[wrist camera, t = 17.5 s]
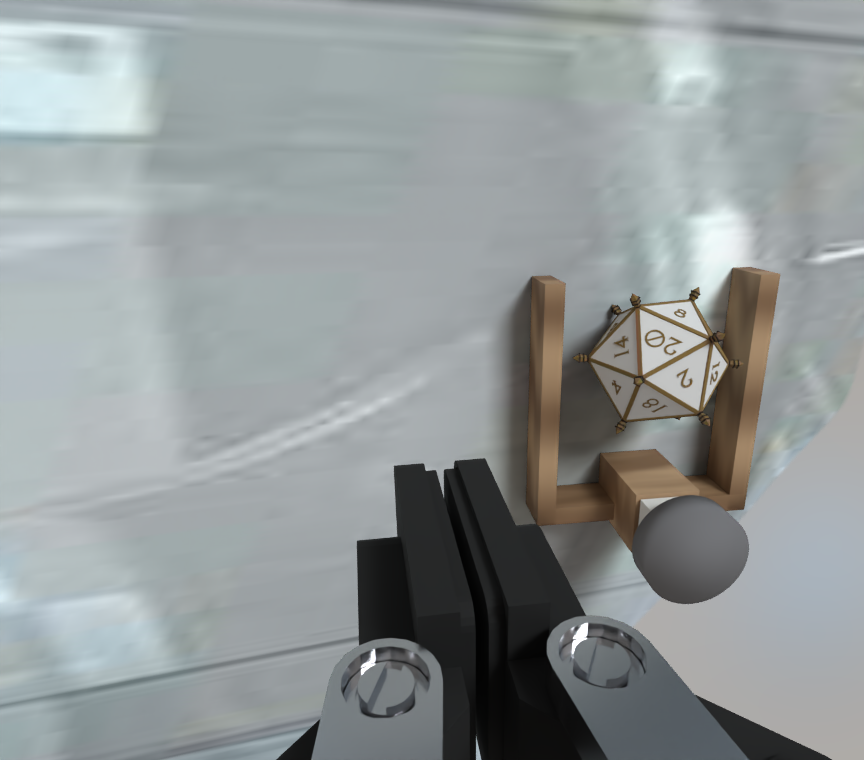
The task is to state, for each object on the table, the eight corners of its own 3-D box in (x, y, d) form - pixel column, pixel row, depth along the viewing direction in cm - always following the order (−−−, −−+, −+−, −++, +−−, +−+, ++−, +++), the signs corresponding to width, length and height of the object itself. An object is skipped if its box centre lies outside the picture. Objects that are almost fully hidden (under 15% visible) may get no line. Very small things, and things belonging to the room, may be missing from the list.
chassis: (531, 276, 38) (571, 300, 31) (750, 267, 40) (838, 287, 32) (525, 509, 44) (558, 577, 36) (719, 494, 45) (788, 556, 38)
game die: (583, 341, 44) (528, 378, 36) (668, 248, 39) (628, 266, 31) (679, 431, 42) (644, 490, 34) (780, 344, 38) (768, 389, 29)
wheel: (622, 482, 37) (650, 515, 33) (718, 475, 37) (755, 507, 34) (615, 568, 39) (640, 608, 35) (706, 560, 39) (741, 599, 35)
